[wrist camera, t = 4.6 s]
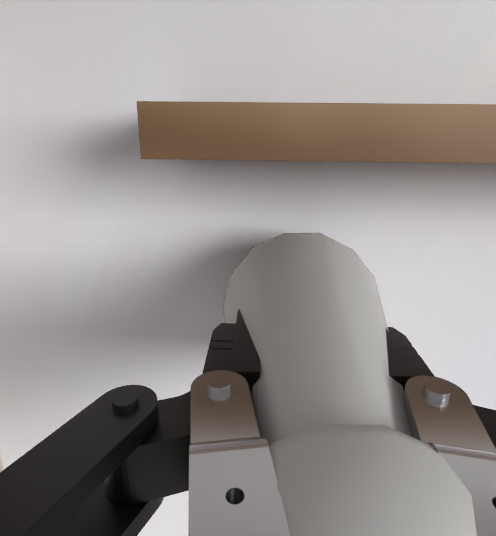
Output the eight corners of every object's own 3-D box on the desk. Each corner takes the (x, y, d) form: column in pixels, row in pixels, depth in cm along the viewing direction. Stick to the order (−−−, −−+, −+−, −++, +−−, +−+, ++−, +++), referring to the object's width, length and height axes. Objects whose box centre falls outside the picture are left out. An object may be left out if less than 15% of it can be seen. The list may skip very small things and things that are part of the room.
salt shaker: (287, 190, 15) (391, 404, 3) (389, 273, 16) (764, 679, 4) (203, 293, 17) (55, 700, 5) (300, 363, 18) (383, 844, 6)
